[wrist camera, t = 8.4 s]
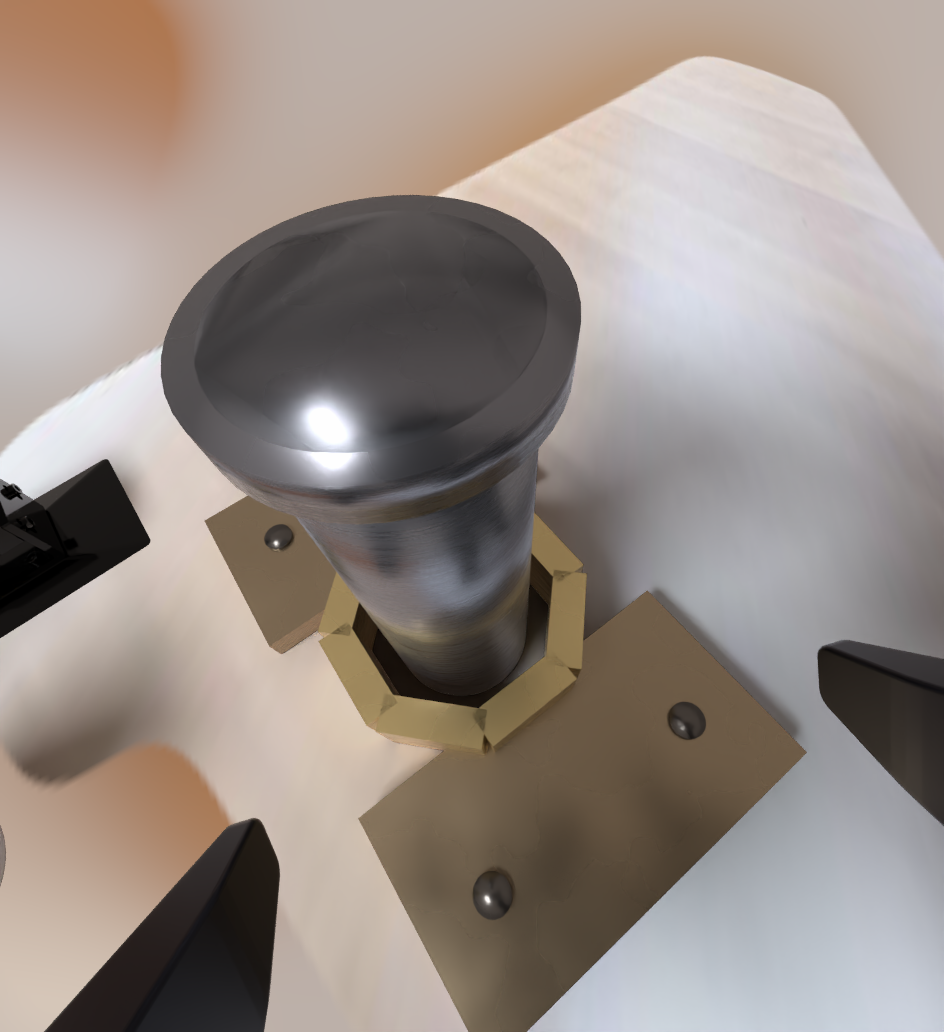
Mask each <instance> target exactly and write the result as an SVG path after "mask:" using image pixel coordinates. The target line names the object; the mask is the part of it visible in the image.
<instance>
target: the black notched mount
mask: <svg viewBox="0 0 944 1032" xmlns="http://www.w3.org/2000/svg"><path fill="white" fill-rule="evenodd" d="M149 543H150V538H149V536H148V534H147V532H146V530H145V529H144V527H143V525H142V523H141V521H140V519H139V517H138V515H137V513H136V512H135V510H134V508H133V506H132V504H131V502H130V500H129V498H128V496H127V494H126V493H125V491H124V489H123V487H122V485H121V483H120V481H119V479H118V477H117V476H116V474H115V472H114V470H113V468H112V466H111V464H110V462H109V460H107V459H104V460H102V461H100V462H99V463H97V464H95V465H93V466H92V467H90V468H88V469H87V470H85V471H83V472H81V473H80V474H78V475H76V476H74V477H73V478H71V479H69V480H68V481H66V482H64V483H62V484H61V485H59V486H57V487H55V488H54V489H52V490H50V491H49V492H47V493H45V494H43V495H42V496H40V497H38V498H36V499H35V500H33V499H31V498H30V497H28V496H26V495H25V494H23V493H22V490H21V489H20V488H19V487H18V486H17V485H15V484H10V485H9V484H8V483H6V482H5V481H3V480H1V479H0V638H1V637H3V636H5V635H6V634H8V633H9V632H11V631H12V630H14V629H16V628H17V627H19V626H20V625H22V624H24V623H25V622H27V621H28V620H30V619H32V618H33V617H35V616H36V615H38V614H39V613H41V612H43V611H44V610H46V609H47V608H49V607H51V606H52V605H54V604H55V603H57V602H59V601H60V600H62V599H63V598H65V597H66V596H68V595H70V594H71V593H73V592H74V591H76V590H78V589H79V588H81V587H82V586H84V585H86V584H87V583H89V582H90V581H92V580H93V579H95V578H97V577H98V576H100V575H101V574H103V573H105V572H106V571H108V570H109V569H111V568H113V567H114V566H116V565H117V564H119V563H120V562H122V561H124V560H125V559H127V558H128V557H130V556H132V555H133V554H135V553H136V552H138V551H140V550H141V549H143V548H144V547H146V546H147V545H149Z"/></svg>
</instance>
